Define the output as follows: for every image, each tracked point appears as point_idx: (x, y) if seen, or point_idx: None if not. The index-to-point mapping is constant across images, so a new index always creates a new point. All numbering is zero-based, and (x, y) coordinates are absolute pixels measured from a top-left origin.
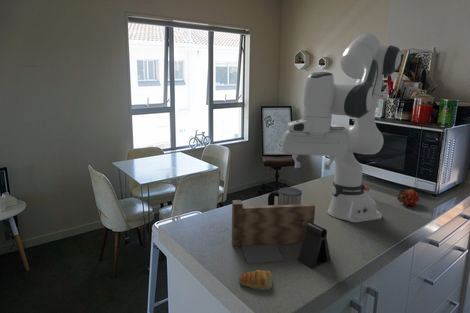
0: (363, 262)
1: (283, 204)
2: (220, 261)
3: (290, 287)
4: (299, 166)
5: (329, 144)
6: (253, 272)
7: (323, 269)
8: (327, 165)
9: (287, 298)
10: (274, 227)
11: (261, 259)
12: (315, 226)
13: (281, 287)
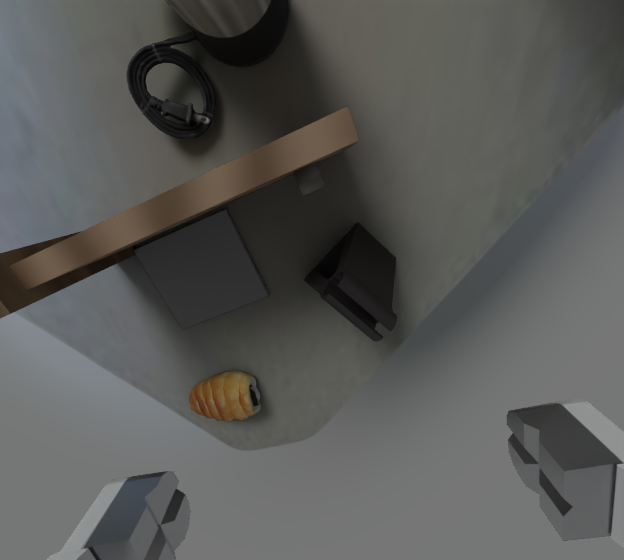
0: (489, 242)
1: (175, 6)
2: (118, 334)
3: (298, 388)
4: (172, 542)
5: None
6: (212, 406)
7: None
8: (580, 521)
9: (296, 418)
10: (199, 214)
11: (211, 307)
12: (355, 316)
13: (280, 392)
